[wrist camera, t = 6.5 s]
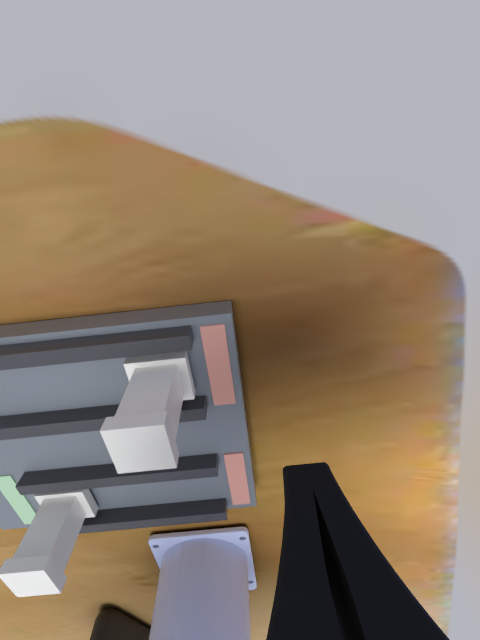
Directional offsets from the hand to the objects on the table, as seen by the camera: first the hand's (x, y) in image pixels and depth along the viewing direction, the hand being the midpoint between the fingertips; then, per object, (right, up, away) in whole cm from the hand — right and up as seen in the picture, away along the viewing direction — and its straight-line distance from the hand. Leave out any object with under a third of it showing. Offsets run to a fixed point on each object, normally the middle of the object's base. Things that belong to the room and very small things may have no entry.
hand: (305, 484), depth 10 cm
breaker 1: (-13, -6, +10) cm, 18 cm away
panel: (-11, -1, +10) cm, 15 cm away
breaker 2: (-6, +2, +6) cm, 9 cm away
